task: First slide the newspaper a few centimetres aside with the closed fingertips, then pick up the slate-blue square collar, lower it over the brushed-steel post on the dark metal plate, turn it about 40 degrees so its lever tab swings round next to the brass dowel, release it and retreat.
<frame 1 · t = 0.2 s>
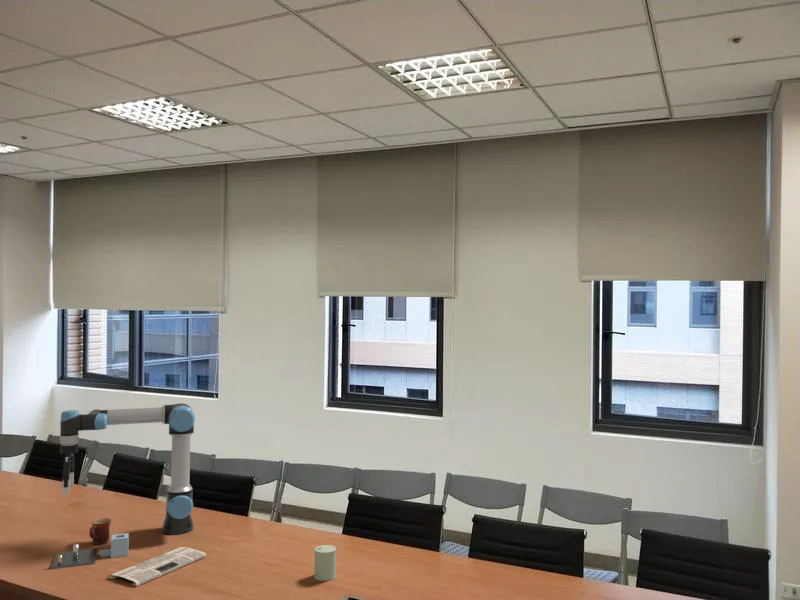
hand: (68, 490, 289), 28 cm above the table, fingers open, 13 cm apart
mug: (98, 544, 298), on the table
post plate: (75, 559, 278), on the table
can: (325, 577, 261), on the table
newspaper: (157, 568, 270), on the table
collar: (119, 554, 285), on the table
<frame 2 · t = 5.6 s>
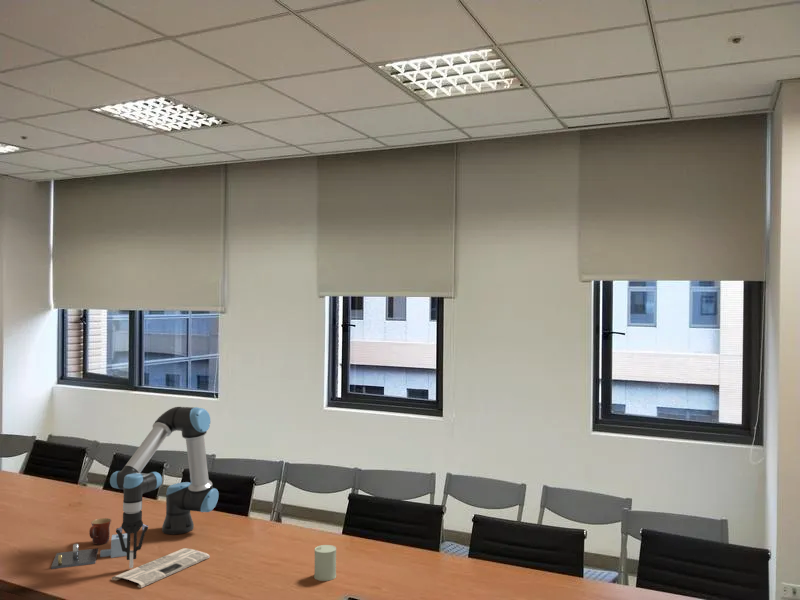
hand: (131, 566, 267), 1 cm above the table, fingers closed
newspaper: (161, 570, 269), on the table, touching gripper
everything else where it was.
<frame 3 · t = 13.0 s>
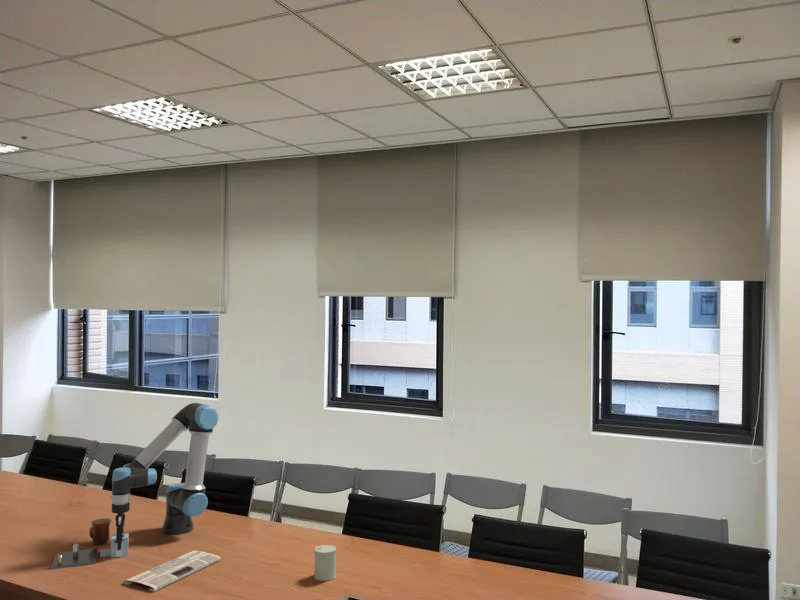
hand: (119, 553, 285), 0 cm above the table, fingers closed on collar, 7 cm apart
newspaper: (172, 573, 265), on the table
collar: (119, 554, 285), on the table, touching gripper
everything else where it was.
when the fingers open (4 cm above the table, at t = 18.6 s): collar drops 3 cm, resting on post plate.
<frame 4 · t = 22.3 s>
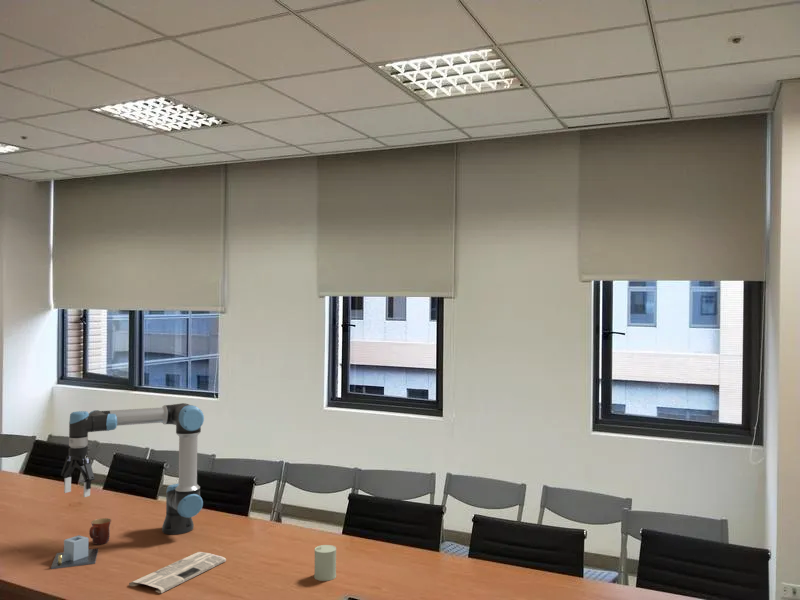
hand: (77, 494, 279), 29 cm above the table, fingers open, 13 cm apart
newspaper: (178, 574, 264), on the table
collar: (75, 557, 278), point 1 cm above the table, touching post plate
everything else where it was.
at the end: collar 0.1 cm off-centre on the post plate, point 1.0 cm above the post plate's base; collar tilted 0°; newspaper moved 13.1 cm from its start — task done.
